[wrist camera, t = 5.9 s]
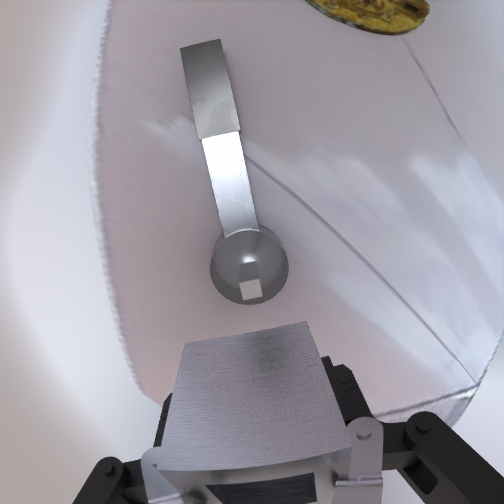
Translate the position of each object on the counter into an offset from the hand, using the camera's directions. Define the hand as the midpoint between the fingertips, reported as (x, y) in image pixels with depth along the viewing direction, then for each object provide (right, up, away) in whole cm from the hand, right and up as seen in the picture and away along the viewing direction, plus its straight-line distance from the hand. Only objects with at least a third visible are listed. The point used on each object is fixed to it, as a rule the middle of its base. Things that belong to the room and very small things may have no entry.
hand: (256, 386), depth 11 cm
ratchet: (-2, +12, +12) cm, 18 cm away
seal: (+10, +31, +7) cm, 34 cm away
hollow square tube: (0, 0, +1) cm, 1 cm away
